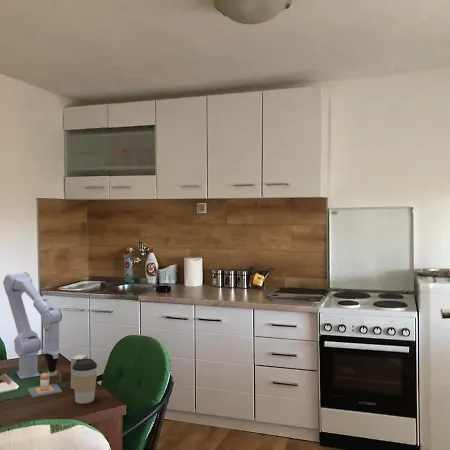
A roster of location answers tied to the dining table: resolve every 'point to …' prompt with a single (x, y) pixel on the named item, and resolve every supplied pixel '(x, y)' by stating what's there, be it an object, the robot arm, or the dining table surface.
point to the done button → (52, 373)
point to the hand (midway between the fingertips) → (52, 371)
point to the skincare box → (72, 366)
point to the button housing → (55, 378)
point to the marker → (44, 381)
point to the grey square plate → (38, 393)
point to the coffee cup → (84, 380)
